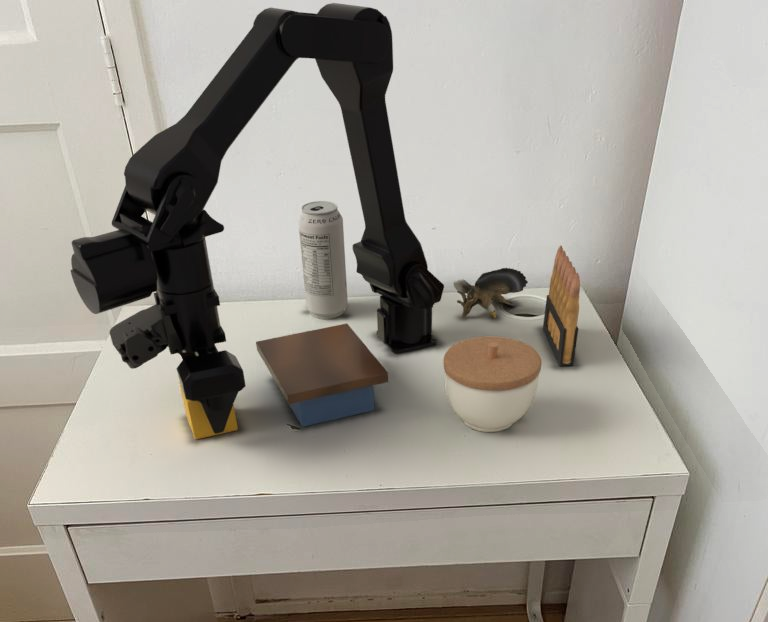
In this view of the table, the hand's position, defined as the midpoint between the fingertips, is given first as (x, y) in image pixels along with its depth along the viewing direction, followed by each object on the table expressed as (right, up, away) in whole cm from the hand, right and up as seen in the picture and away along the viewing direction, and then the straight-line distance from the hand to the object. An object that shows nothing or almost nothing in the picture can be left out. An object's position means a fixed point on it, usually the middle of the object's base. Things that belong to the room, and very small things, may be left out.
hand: (210, 412), depth 91 cm
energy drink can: (+12, +18, +24) cm, 32 cm away
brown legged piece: (+35, +17, +22) cm, 45 cm away
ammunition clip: (+43, +10, +13) cm, 46 cm away
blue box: (+13, +3, +6) cm, 14 cm away
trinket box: (+32, -1, +1) cm, 32 cm away
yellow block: (0, -1, +1) cm, 2 cm away
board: (+13, +6, +3) cm, 14 cm away
